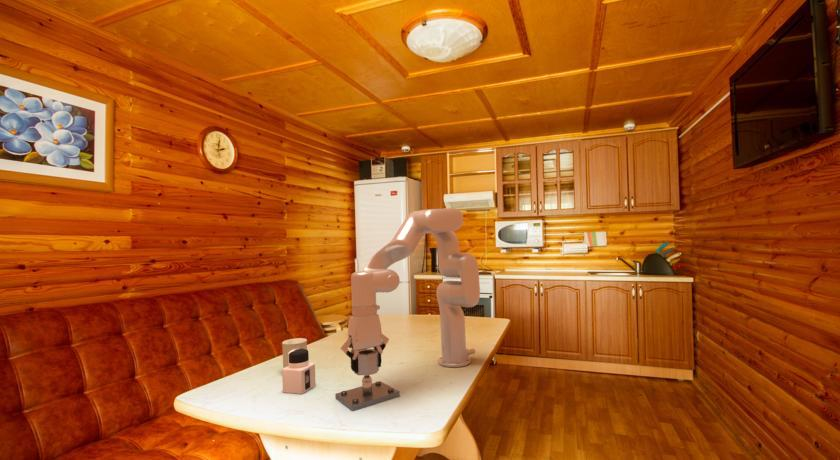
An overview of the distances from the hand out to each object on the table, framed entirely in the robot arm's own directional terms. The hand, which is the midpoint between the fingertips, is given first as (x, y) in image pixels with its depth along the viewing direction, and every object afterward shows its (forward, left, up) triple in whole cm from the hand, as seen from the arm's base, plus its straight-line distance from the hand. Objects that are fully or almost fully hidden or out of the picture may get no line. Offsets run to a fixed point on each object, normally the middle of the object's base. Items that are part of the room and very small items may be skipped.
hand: (366, 368), depth 120 cm
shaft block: (0, 0, -9) cm, 9 cm away
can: (+9, -42, -9) cm, 44 cm away
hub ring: (0, 0, -1) cm, 1 cm away
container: (+14, -22, -9) cm, 28 cm away
